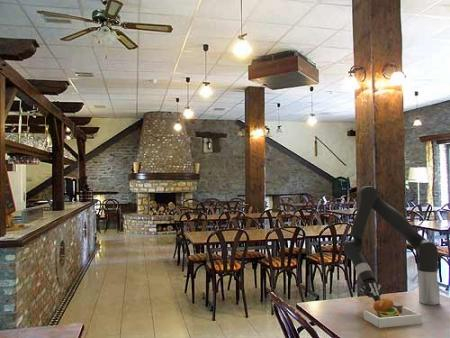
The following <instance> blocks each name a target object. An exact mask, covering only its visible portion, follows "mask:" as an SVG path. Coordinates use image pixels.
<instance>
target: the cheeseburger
mask: <svg viewBox="0 0 450 338" xmlns="http://www.w3.org/2000/svg"><path fill="white" fill-rule="evenodd" d="M393 302H394V301H393V300H392V299H390V298H387V297H386V298H382V299H381V300H378V301H376V302H375V301H374V303H373V309H374V311H375V313H376V316H377V317H379V318H385V317H395V316H400V312H398V311H397V309H396V308H394V307H392V306H393Z"/></svg>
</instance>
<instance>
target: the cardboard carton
mask: <svg viewBox="0 0 450 338" xmlns="http://www.w3.org/2000/svg"><path fill="white" fill-rule="evenodd" d="M392 302H393V306H392V307H394V308H396V309H397V311H398V313H402V307H404V305H403V304H401V303H399V302H397V301H392Z"/></svg>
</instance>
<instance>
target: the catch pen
mask: <svg viewBox="0 0 450 338" xmlns="http://www.w3.org/2000/svg"><path fill="white" fill-rule="evenodd" d="M401 313H402V315H399V316H395V317H385V318H380V317H379V316H378V315H375V314H374V313H372V312H370V311H368V310H366V309H363V319H364V320H365V321H367V322H369V323H371V324H372V325H374V326H375V327H377V328H378V329H382V328H391V327H403V326H411V325H422V324H423V315H422V314H421V313H419V312H417V311H415V310H412V309H410V308H408V307H406V306H403V307H402V312H401Z"/></svg>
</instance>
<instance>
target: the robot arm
mask: <svg viewBox="0 0 450 338" xmlns="http://www.w3.org/2000/svg"><path fill="white" fill-rule="evenodd" d="M358 198H359V199H360V203H359V206H358V210H357V212H356V214H355V217H354V220H353V222H352V225H351V229H350V233H349V235H350V236H351V237H352V238H353V241H351V240H347V241H345V242H344V243H343V246H342V247H343V252H344V253H345V255H346V257H347V258H348V260H350V261H351V262H352V264H353V267H354V269H355V272H356V275H357V277H358V279H359V281H360V284H361V287H360V289H359V291H360V292H362V293H363V294H364V295H365V296H367V297H368V298H372V299H373V301H374V303H375V302H376V301H378V300H382V299H381V296H382V295H383V290H384V285H381V284H379V283H378V281H377V279H376V277H375V275H374V273H373V271H372V269H371V267H370V265H369V263H368V262H367V260H366V257H364V255H362V254H361V253H362V252H363V248H364V235H365V230H366V227H367V223H368V220H369V217H370V214H371V210H373V211H375V213H376V214H377V215H378V216H379V217H380V218H381V220H383V221H384V223H386V225H388V226H389V228H390V229H392V230H393V231H394V232H395V233H397V234H398V235H399V236H400V237H402V238H403V239H404V240H405V241H406V242H408V244H409V245H410V246H411V247H412V248H413V250H414V251H415V252H416V253H417V254H418V255H419V258H418V260H419V263H418V264H417V279H418V280H417V281H418V282H417V285H418V286H417V287H418V302H419V303H420V304H423V305H428V306H429V305H430V306H435V305H439V304H440V303H441V299H440V298H441V295H440V285H439V284H438V266H439V250H438V247H437V245H436V244H435V243H434V242H432V241H430V240H428V239H426V238H425V237H424V236H423V235H421V234H420V233H419V232H417V230H416V229H415V228H414V227H413V225H412V224H411V223H410V221H409V220H408V219H407V218H406V217H405V216H404V215H403V214H402V213H401V212H399V210H397V209H395V207H393V206H391V205H390V204H388V203H387V202H385V201H384V200H383V199H382V198H381V196H379V195H378V190H377V189H376V188H375V187H374V186H372V185H367V186H362V187H361V188H360V189H359V190H358Z"/></svg>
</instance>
